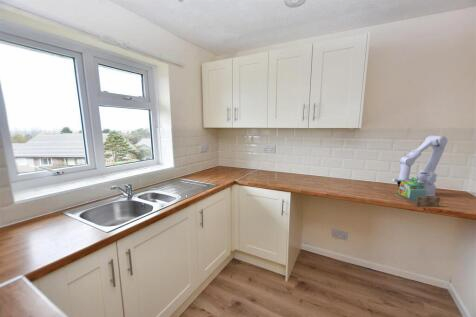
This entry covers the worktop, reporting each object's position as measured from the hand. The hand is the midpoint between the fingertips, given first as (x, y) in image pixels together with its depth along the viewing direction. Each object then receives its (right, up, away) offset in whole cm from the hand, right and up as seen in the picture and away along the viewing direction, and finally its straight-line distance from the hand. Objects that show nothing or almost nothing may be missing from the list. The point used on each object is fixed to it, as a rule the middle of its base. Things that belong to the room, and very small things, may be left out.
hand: (401, 191), depth 152 cm
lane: (+1, -5, -10) cm, 11 cm away
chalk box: (+1, -4, -5) cm, 6 cm away
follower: (+1, -5, -12) cm, 13 cm away
